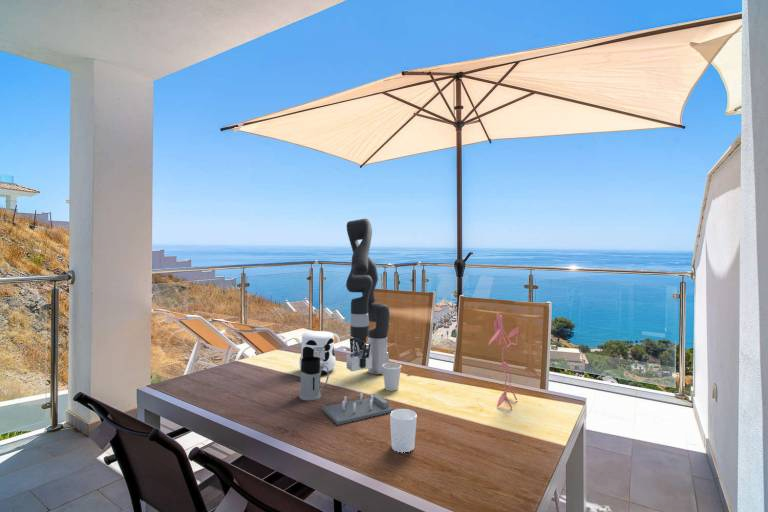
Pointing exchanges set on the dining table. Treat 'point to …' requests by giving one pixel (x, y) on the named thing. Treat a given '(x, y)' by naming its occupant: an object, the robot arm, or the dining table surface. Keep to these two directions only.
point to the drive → (357, 362)
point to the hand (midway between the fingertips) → (359, 365)
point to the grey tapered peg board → (357, 409)
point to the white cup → (403, 429)
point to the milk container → (319, 348)
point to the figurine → (497, 337)
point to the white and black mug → (311, 378)
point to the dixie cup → (391, 375)
